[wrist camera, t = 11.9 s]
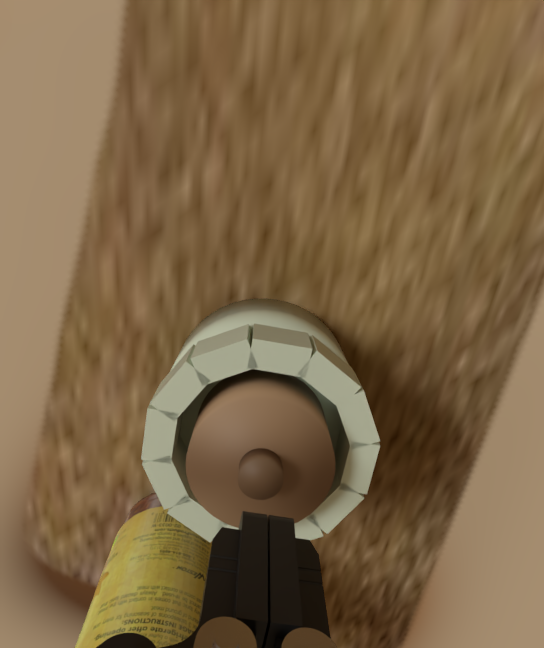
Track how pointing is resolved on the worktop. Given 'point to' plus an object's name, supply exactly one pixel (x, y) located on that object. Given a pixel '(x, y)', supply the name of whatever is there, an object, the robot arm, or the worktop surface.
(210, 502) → the lid
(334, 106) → the worktop surface
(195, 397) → the jar
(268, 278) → the worktop surface
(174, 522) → the sauce bottle
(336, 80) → the worktop surface
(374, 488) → the worktop surface
